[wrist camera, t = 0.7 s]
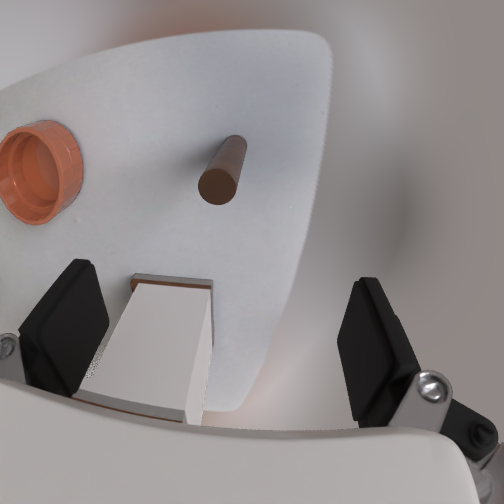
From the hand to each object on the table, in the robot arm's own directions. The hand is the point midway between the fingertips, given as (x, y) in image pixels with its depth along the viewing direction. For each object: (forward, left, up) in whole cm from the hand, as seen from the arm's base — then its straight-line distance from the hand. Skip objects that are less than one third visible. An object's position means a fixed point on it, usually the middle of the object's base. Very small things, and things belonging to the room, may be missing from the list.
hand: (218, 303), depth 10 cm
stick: (-1, -1, -24) cm, 24 cm away
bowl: (-12, -23, -24) cm, 35 cm away
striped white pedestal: (+15, -19, -24) cm, 34 cm away
